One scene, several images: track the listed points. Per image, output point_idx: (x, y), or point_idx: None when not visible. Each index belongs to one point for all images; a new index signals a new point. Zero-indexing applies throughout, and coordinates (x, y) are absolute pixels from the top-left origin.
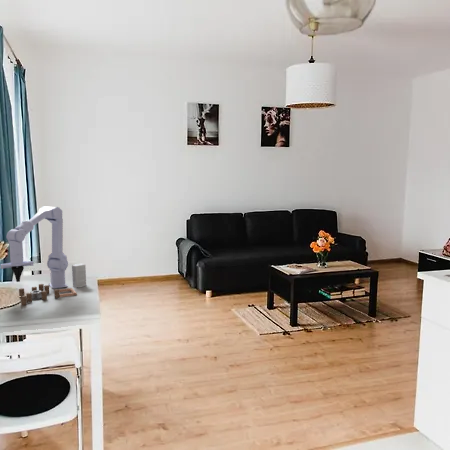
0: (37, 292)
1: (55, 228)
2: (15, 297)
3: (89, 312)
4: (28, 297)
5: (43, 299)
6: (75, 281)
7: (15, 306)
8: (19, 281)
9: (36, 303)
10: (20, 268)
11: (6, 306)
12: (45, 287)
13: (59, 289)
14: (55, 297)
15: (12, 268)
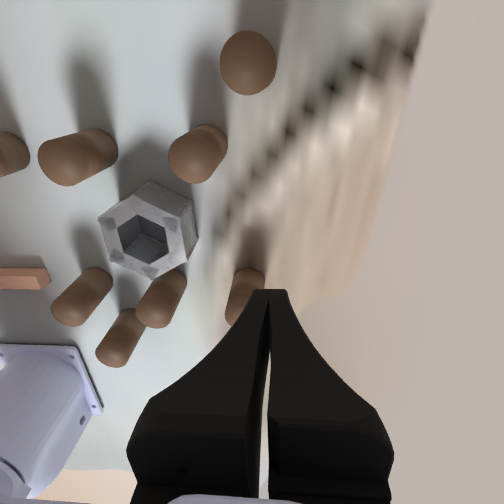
0: (130, 215)
1: None
2: (287, 283)
3: None
4: (205, 130)
5: (102, 132)
6: None
7: (328, 40)
8: (256, 290)
9: (153, 53)
10: (199, 425)
11: (394, 80)
12: (78, 297)
13: (13, 288)
14: (14, 140)
15: (371, 484)
